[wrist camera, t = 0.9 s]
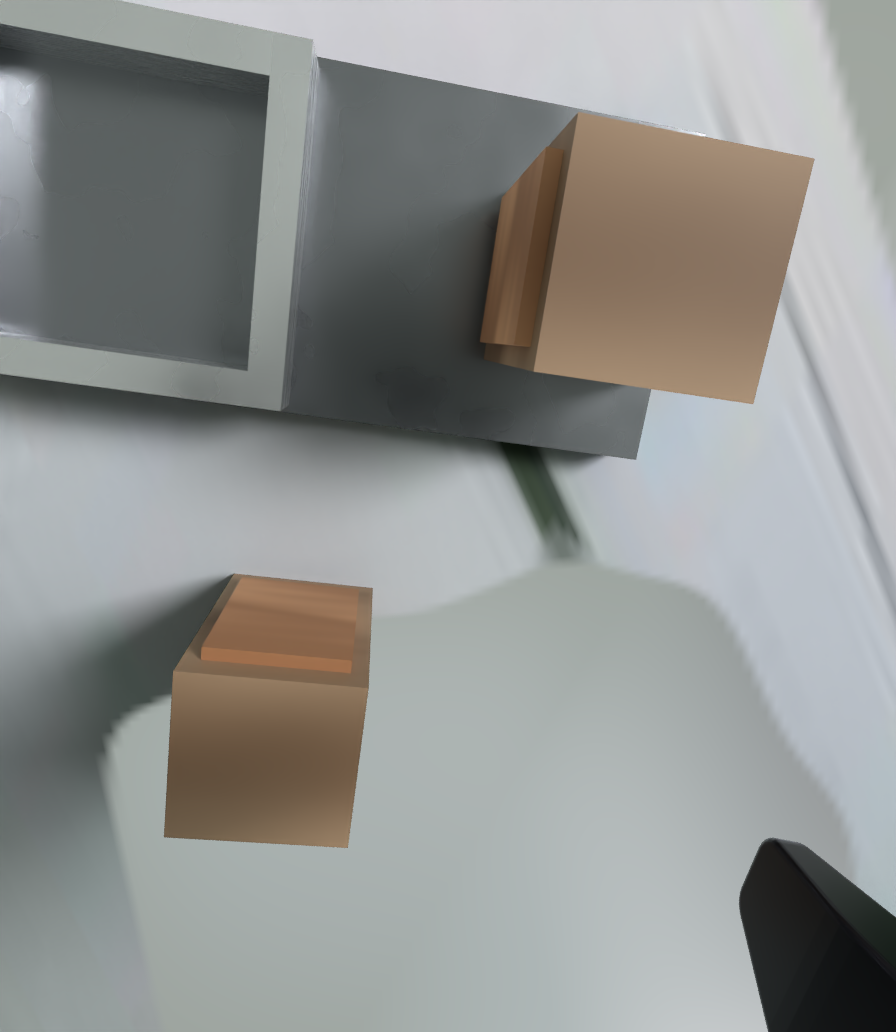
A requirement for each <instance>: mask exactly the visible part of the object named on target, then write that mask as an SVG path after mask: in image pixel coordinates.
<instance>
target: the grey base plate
mask: <svg viewBox="0 0 896 1032" xmlns="http://www.w3.org/2000/svg"><path fill="white" fill-rule="evenodd" d="M578 112H582V113H587V114H592V115H597V116H602V117H607V118H612V119H617V120H622V121H627V122H632V123H637V124H642V125H647V126H652V127H657V128H662V129H667V130H672V131H677V132H682V133H687V134H692V135H697V136H703V137H705V135H706V134H703V133H698V132H693V131H688V130H683V129H678V128H673V127H668V126H663V125H658V124H653V123H648V122H643V121H638V120H633V119H628V118H623V117H618V116H613V115H608V114H603V113H598V112H593V111H587V110H582V109H577V108H572V107H567V106H562V105H557V104H552V103H547V102H542V101H537V100H532V99H527V98H522V97H517V96H512V95H507V94H502V93H497V92H492V91H487V90H482V89H477V88H472V87H467V86H462V85H457V84H452V83H447V82H442V81H437V80H432V79H427V78H422V77H417V76H412V75H407V74H402V73H397V72H391V71H386V70H381V69H376V68H371V67H366V66H361V65H356V64H351V63H346V62H341V61H336V60H331V59H326V58H321V57H317V55H316V51H315V46H314V42H313V40H312V39H307V38H302V37H297V36H292V35H287V34H282V33H277V32H272V31H267V30H262V29H257V28H252V27H247V26H243V25H238V24H233V23H228V22H223V21H218V20H213V19H208V18H203V17H198V16H193V15H188V14H183V13H178V12H173V11H168V10H163V9H158V8H153V7H148V6H143V5H138V4H134V3H129V2H124V1H119V0H0V374H2V375H10V376H17V377H25V378H32V379H40V380H47V381H54V382H62V383H69V384H77V385H84V386H92V387H99V388H107V389H114V390H121V391H129V392H136V393H144V394H151V395H159V396H166V397H173V398H181V399H188V400H196V401H203V402H211V403H218V404H226V405H233V406H240V407H248V408H255V409H263V410H270V411H278V412H285V413H293V414H300V415H307V416H315V417H322V418H330V419H337V420H345V421H352V422H359V423H367V424H374V425H382V426H389V427H397V428H404V429H412V430H419V431H426V432H434V433H441V434H449V435H456V436H464V437H471V438H479V439H486V440H493V441H501V442H508V443H516V444H523V445H531V446H538V447H545V448H553V449H560V450H568V451H575V452H583V453H590V454H598V455H605V456H612V457H620V458H627V459H635V460H636V457H637V452H638V448H639V443H640V438H641V434H642V429H643V424H644V420H645V415H646V410H647V406H648V401H649V396H650V392H651V389H648V388H641V387H635V386H628V385H621V384H614V383H608V382H601V381H594V380H587V379H581V378H574V377H567V376H560V375H554V374H547V373H540V372H533V371H529V370H525V369H521V368H517V367H513V366H508V365H504V364H500V363H496V362H492V361H487V360H484V353H485V347H486V343H483V342H480V337H481V331H482V324H483V318H484V311H485V304H486V298H487V291H488V285H489V278H490V272H491V265H492V259H493V252H494V245H495V239H496V232H497V226H498V219H499V213H500V206H501V200H502V197H503V196H504V195H505V193H506V192H507V191H508V190H509V189H510V188H511V187H512V185H513V184H514V183H515V182H516V181H517V180H518V179H519V177H520V176H521V175H522V174H523V173H524V172H525V170H526V169H527V168H528V167H529V166H530V165H531V164H532V162H533V161H534V160H535V159H536V158H537V157H538V155H539V154H540V153H541V152H542V151H543V150H544V149H545V147H546V146H547V147H548V146H549V145H550V144H551V143H552V141H553V140H554V139H555V138H556V137H557V136H558V135H559V133H560V132H561V131H562V130H563V129H564V128H565V127H566V125H567V124H568V123H569V122H570V121H571V120H572V119H573V117H574V116H575V115H576V114H577V113H578Z"/></svg>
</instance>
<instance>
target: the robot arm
mask: <svg viewBox="0 0 896 1032" xmlns="http://www.w3.org/2000/svg"><path fill="white" fill-rule="evenodd" d="M739 907H740V915H741V919H742V923H743V927H744V932H745V936H746V940H747V945H748V949H749V952H750V957H751V961H752V965H753V970H754V974H755V978H756V983H757V987H758V991H759V995H760V999H761V1003H762V1008H763V1012H764V1016H765V1020H766V1025H767V1029H768V1032H896V917H895V916H893V915H892V914H891V913H890V912H888V911H887V910H886V909H885V908H883V907H882V906H881V905H879V904H878V903H877V902H876V901H874V900H873V899H872V898H871V897H869V896H868V895H867V894H866V893H864V892H863V891H862V890H861V889H859V888H858V887H857V886H856V885H854V884H853V883H852V882H851V881H849V880H848V879H847V878H846V877H844V876H843V875H842V874H840V873H839V872H838V871H837V870H835V869H834V868H833V867H832V866H830V865H829V864H828V863H827V862H825V861H824V860H823V859H822V858H820V857H819V856H818V855H816V854H815V853H814V852H813V851H812V850H810V849H809V848H808V847H806V846H805V845H803V844H801V843H798V842H792V841H787V840H782V839H777V838H768V839H766V840H765V841H763V842H762V844H761V845H760V847H759V849H758V851H757V854H756V856H755V858H754V860H753V863H752V865H751V868H750V870H749V872H748V874H747V876H746V879H745V881H744V884H743V886H742V889H741V892H740V897H739Z"/></svg>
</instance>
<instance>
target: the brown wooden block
mask: <svg viewBox="0 0 896 1032" xmlns="http://www.w3.org/2000/svg"><path fill="white" fill-rule="evenodd" d="M813 163H814V159H813V158H808V157H803V156H798V155H793V154H788V153H783V152H778V151H773V150H768V149H763V148H758V147H753V146H748V145H743V144H738V143H733V142H728V141H723V140H718V139H713V138H708V137H703V136H697V135H692V134H687V133H682V132H677V131H672V130H667V129H662V128H657V127H652V126H647V125H642V124H637V123H632V122H627V121H622V120H617V119H612V118H607V117H602V116H597V115H592V114H587V113H582V112H578V113H577V114H576V115H575V116H574V117H573V119H572V120H571V121H570V122H569V123H568V124H567V125H566V127H565V128H564V129H563V130H562V131H561V132H560V133H559V135H558V136H557V137H556V138H555V139H554V140H553V141H552V143H551V144H550V145H549V146H548V147H547V146H546V147H545V149H544V150H543V151H542V152H541V153H540V154H539V155H538V157H537V158H536V159H535V160H534V161H533V162H532V164H531V165H530V166H529V167H528V168H527V169H526V170H525V172H524V173H523V174H522V175H521V176H520V177H519V179H518V180H517V181H516V182H515V183H514V184H513V185H512V187H511V188H510V189H509V190H508V191H507V192H506V193H505V195H504V196H503V197H502V200H501V206H500V213H499V219H498V226H497V232H496V239H495V245H494V252H493V259H492V265H491V272H490V278H489V285H488V291H487V298H486V304H485V311H484V318H483V324H482V331H481V337H480V342H483V343H486V347H485V353H484V360H487V361H492V362H496V363H500V364H504V365H508V366H513V367H517V368H521V369H525V370H529V371H533V372H540V373H547V374H554V375H560V376H567V377H574V378H581V379H587V380H594V381H601V382H608V383H614V384H621V385H628V386H635V387H641V388H648V389H655V390H662V391H668V392H675V393H682V394H688V395H695V396H702V397H709V398H715V399H722V400H729V401H736V402H742V403H749V404H753V403H754V399H755V395H756V391H757V387H758V383H759V379H760V375H761V371H762V367H763V363H764V359H765V355H766V351H767V347H768V343H769V339H770V335H771V331H772V327H773V323H774V319H775V315H776V311H777V307H778V303H779V299H780V295H781V291H782V287H783V283H784V279H785V275H786V271H787V267H788V263H789V259H790V255H791V251H792V247H793V243H794V239H795V235H796V231H797V227H798V223H799V219H800V215H801V211H802V207H803V203H804V199H805V195H806V191H807V187H808V183H809V179H810V175H811V171H812V167H813Z"/></svg>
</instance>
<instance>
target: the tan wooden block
mask: <svg viewBox="0 0 896 1032" xmlns="http://www.w3.org/2000/svg"><path fill="white" fill-rule="evenodd" d="M372 592H373V588H366V587H356V586H346V585H337V584H327V583H318V582H308V581H299V580H289V579H280V578H270V577H260V576H251V575H241V574H234V575H233V576H232V578H231V579H230V581H229V583H228V584H227V586H226V587H225V589H224V591H223V592H222V594H221V595H220V597H219V599H218V600H217V602H216V603H215V605H214V607H213V608H212V610H211V611H210V613H209V615H208V616H207V618H206V619H205V621H204V623H203V624H202V626H201V627H200V629H199V631H198V632H197V634H196V635H195V637H194V639H193V640H192V642H191V643H190V645H189V647H188V648H187V650H186V651H185V653H184V655H183V656H182V658H181V659H180V661H179V663H178V664H177V666H176V667H175V669H174V671H173V683H172V701H171V720H170V737H169V756H168V757H169V758H168V774H167V793H166V810H165V828H164V837H169V838H170V837H171V838H186V839H204V840H220V841H221V840H222V841H239V842H256V843H272V844H290V845H306V846H307V845H308V846H324V847H341V848H348V842H349V833H350V826H351V819H352V811H353V803H354V796H355V788H356V780H357V773H358V765H359V757H360V750H361V742H362V734H363V727H364V719H365V711H366V703H367V696H368V688H369V664H370V663H369V662H370V640H371V616H372Z"/></svg>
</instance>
